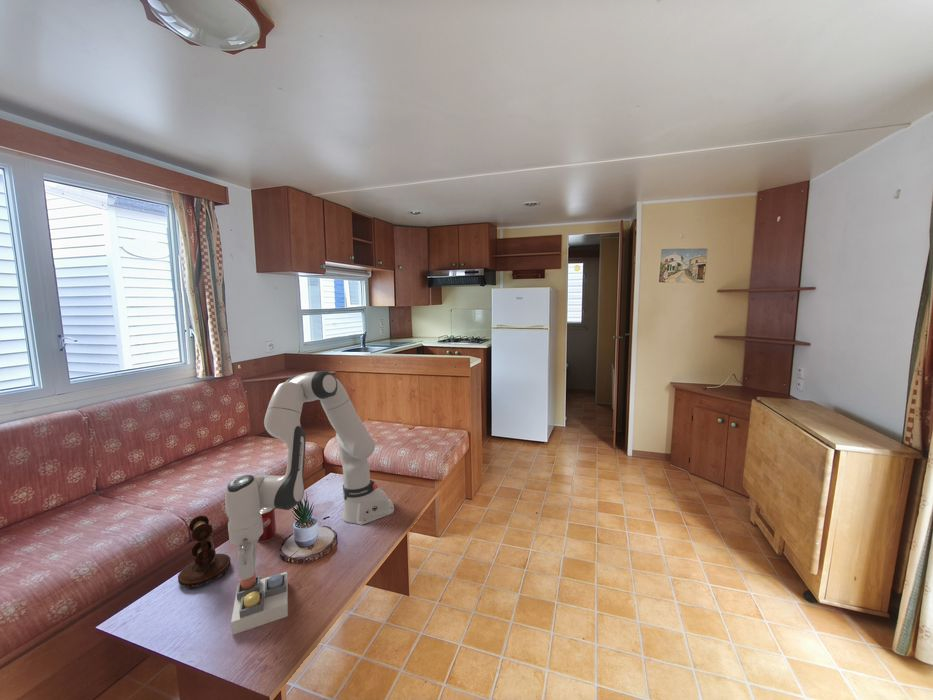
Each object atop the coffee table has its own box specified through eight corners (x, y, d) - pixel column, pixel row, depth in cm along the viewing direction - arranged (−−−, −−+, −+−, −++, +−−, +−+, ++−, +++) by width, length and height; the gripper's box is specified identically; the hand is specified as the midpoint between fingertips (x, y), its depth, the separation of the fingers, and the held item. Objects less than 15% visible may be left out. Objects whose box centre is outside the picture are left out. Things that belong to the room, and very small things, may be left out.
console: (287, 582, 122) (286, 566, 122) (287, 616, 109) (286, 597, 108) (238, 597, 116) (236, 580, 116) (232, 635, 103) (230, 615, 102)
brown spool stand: (235, 574, 127) (229, 520, 124) (181, 598, 117) (174, 539, 114) (226, 554, 137) (221, 503, 135) (176, 574, 127) (169, 520, 125)
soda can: (268, 544, 143) (265, 514, 142) (251, 541, 145) (249, 513, 143) (280, 532, 150) (278, 505, 149) (265, 530, 152) (263, 503, 150)
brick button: (256, 578, 117) (255, 570, 116) (255, 587, 113) (254, 578, 113) (241, 583, 115) (241, 574, 115) (240, 591, 111) (239, 582, 111)
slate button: (283, 581, 117) (282, 572, 117) (283, 589, 114) (282, 580, 113) (269, 585, 116) (268, 576, 115) (268, 594, 112) (267, 585, 112)
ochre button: (260, 598, 110) (259, 589, 110) (259, 608, 107) (259, 599, 106) (245, 603, 109) (244, 594, 108) (243, 613, 105) (242, 604, 105)
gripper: (256, 547, 103) (261, 592, 105) (259, 511, 121) (263, 550, 123) (229, 554, 100) (235, 600, 102) (237, 517, 118) (241, 556, 120)
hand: (250, 572), depth 113 cm, fingers closed
